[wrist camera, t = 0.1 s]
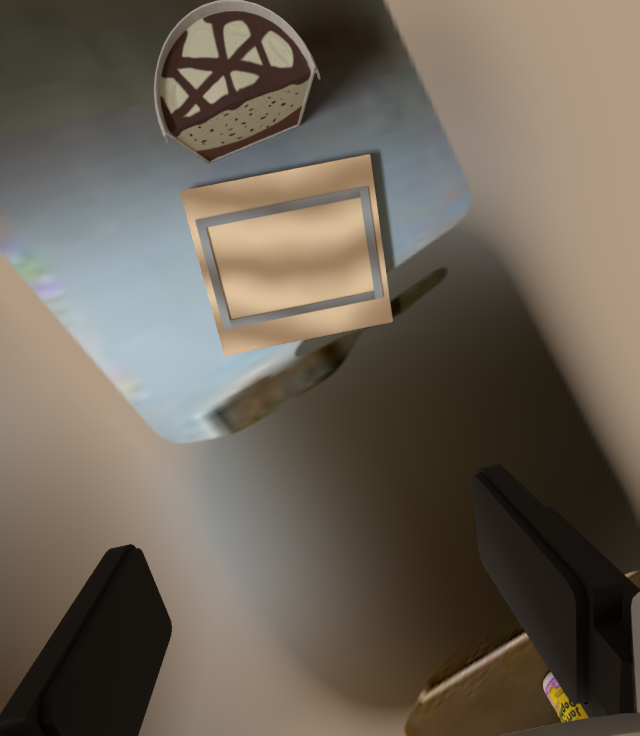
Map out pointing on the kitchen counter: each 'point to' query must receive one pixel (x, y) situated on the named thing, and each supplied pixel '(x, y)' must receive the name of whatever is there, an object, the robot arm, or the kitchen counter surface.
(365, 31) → the kitchen counter surface
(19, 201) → the kitchen counter surface
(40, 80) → the kitchen counter surface
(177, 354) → the kitchen counter surface
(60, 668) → the robot arm
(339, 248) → the base board
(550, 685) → the supplement bottle
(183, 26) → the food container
